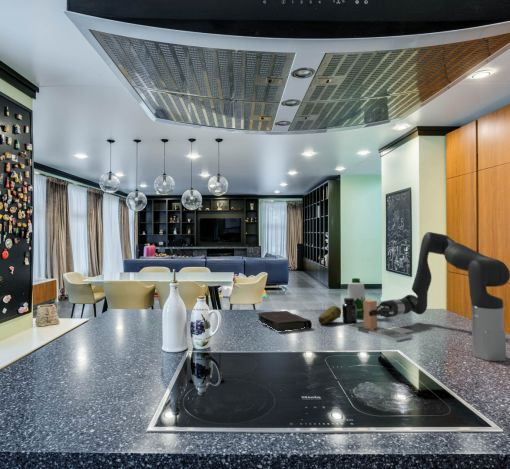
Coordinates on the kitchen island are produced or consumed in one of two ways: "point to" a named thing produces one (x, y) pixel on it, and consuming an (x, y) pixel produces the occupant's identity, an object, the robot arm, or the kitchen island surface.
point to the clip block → (369, 321)
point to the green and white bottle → (357, 294)
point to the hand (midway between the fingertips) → (365, 312)
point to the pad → (400, 329)
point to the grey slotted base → (381, 332)
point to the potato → (330, 315)
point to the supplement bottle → (349, 311)
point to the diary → (283, 320)
